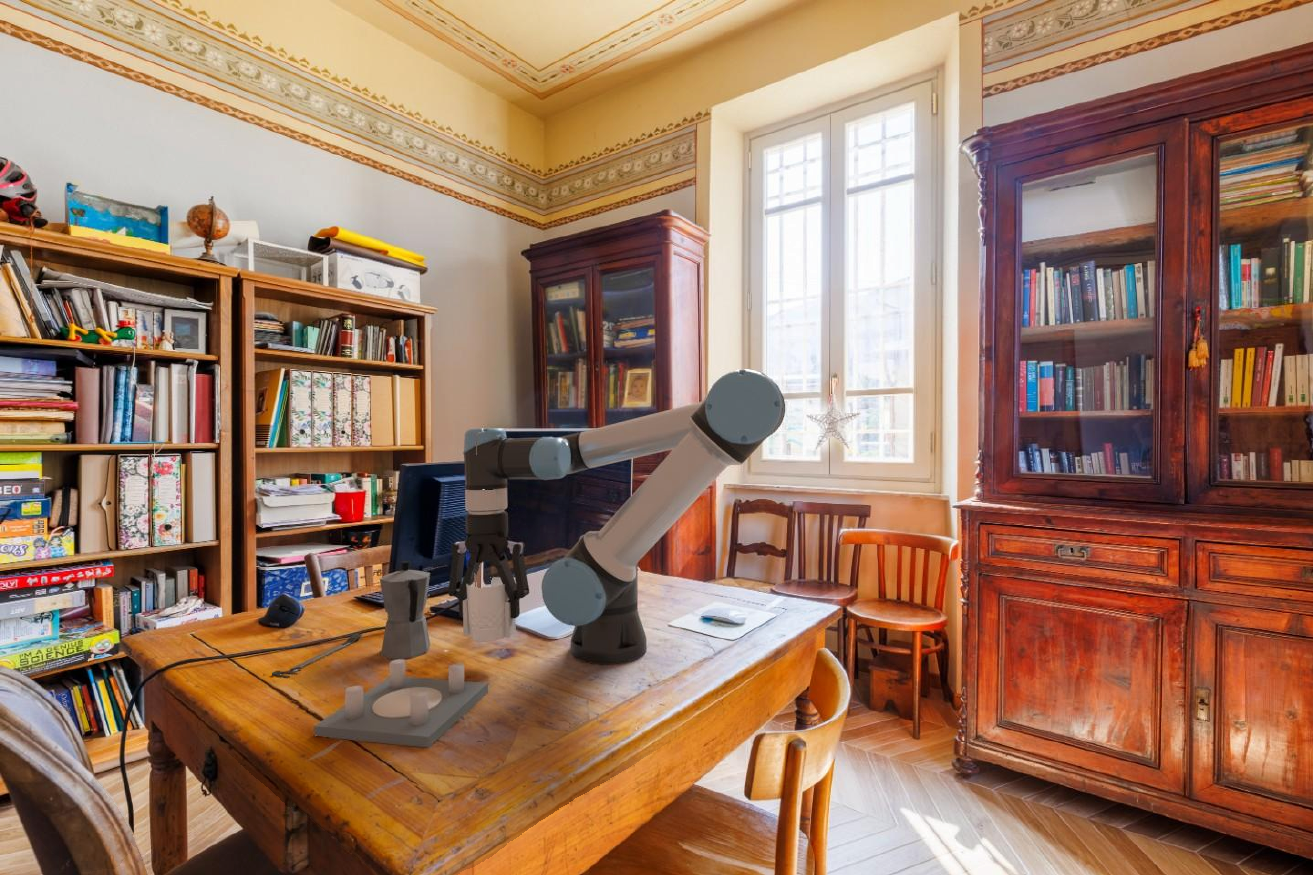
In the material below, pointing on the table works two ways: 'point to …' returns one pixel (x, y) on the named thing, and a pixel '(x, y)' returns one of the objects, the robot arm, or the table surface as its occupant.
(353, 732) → the peg stand
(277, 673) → the tactical tomahawk
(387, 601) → the coffeepot
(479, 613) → the white cup
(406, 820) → the table surface
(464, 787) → the table surface
